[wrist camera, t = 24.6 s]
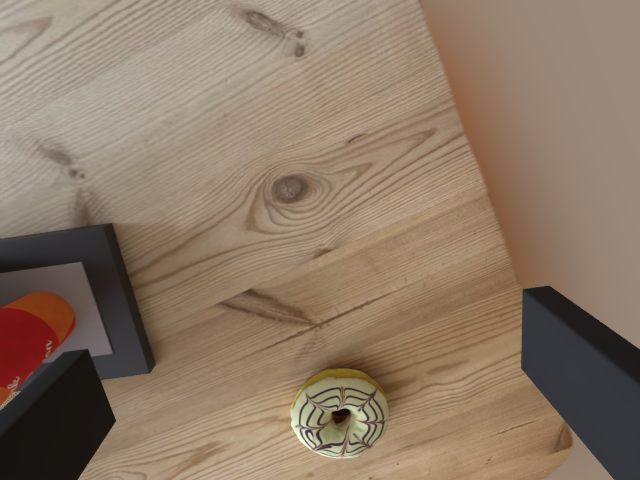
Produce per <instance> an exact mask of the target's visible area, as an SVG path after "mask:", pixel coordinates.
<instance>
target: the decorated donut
mask: <svg viewBox="0 0 640 480" xmlns="http://www.w3.org/2000/svg"><path fill="white" fill-rule="evenodd" d="M343 408H346V409H349V411H348V413H347V414H346V415H344V416H340V417H338V416H335V415H333V414H332V412H334V411H338V410H340V409H343ZM291 417H292V422H291V426H292V427H293V429H294V431H295V432H296V435H297V436H298V438H299V439H300V440H301V442H302V443H303V444H304V445H306V446H307V447H308V448H309V449H311V450H313V451H314V452H316V453H319V454H320V455H323V456H327V457H332V458H341V459H342V458H355V457H358V456H360V455H362V454H363V453H365V452H366V451H367V450H369V449H370V448H371V447H373V446H374V445H375V444H376V443H377V442H378V441H379V440H380V439H381V438H382V436H383V435H384V433H385V431H386V428H387V426H388V422H389V406H388V402H387V398H386V395H385V393H384V391H383V390H382V388H381V387H380V386H379V385H378V384H377V383H376V382H375V381H374V380H373V379H372V378H371V377H370V376H368V375H367V374H365V373H363V372H361V371H359V370H356V369H349V368H334V369H326V370H323V371H321V372H319V373H317V374H315V375H313V376H312V377H310V378H309V379H308V380H307V381H306V383H305V384H304V385H303V386H302V387H301V388H300V390H299V392H298V393H297V395H296V397H295V399H294V401H293V403H292V405H291Z"/></svg>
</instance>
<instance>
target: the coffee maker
mask: <svg viewBox="0 0 640 480" xmlns="http://www.w3.org/2000/svg"><path fill="white" fill-rule="evenodd" d="M38 291H44V292H50V293H53V294H55V295H58V296H59V297H61V298H62V299H64V300H65V301H66V302H67V303H68V304H69V305H70V307H71V308H72V310H73V312H74V315H75V327H74V329H73V331H72V333H71V334H70V335H69V336H68V338H67V339H66V340H65V341H64V342H63V343H62V344H61V345H60V346H59V347H58V348H57V349H56V350H55V351H54V352H53V353H52V354H51V355H50V356H49V357H48V358H47V359H46V360H45V361H44V362H43V363H42V364H41V365H40V366H39V367H38V368H37V369H36V370H35V371H34V372H33V373H32V374H31V375H30V376H29V377H28V378H27V379H26V380H25V381H24V382H23V383H22V384H21V385H20V386H19V387H18V388H17V389H16V390H15V391H22V390H23V389H24V388H25V387H26V386H27V385H29V384H30V383H31V382H32V381H33V380H34V379H35V378H36V377H37V376H38V375H39V374H40V373H42V372H43V371H44V370H45V369H46V368H47V367H48V366H49V365H50V364H51V363H52V362H53V361H54V360H56V359H57V358H58V357H59V356H60V355H61V354H62V353H63V352H67V351H74V350H82V349H89V352H90V355H91V357H92V360H93V362H94V365H95V368H96V370H97V373H98V375H99V378H100V380H104V379H111V378H118V377H126V376H133V375H141V374H148V373H150V372H151V371H152V369H153V368H154V366H155V362H154V358H153V355H152V352H151V349H150V346H149V342H148V339H147V336H146V333H145V330H144V326H143V323H142V320H141V317H140V314H139V310H138V307H137V304H136V301H135V297H134V294H133V291H132V288H131V285H130V281H129V278H128V275H127V272H126V269H125V265H124V262H123V259H122V256H121V253H120V249H119V246H118V243H117V240H116V237H115V233H114V230H113V227H112V224H111V223H109V224H102V225H95V226H88V227H81V228H74V229H67V230H60V231H53V232H46V233H39V234H33V235H26V236H19V237H12V238H5V239H0V307H2V306H4V305H6V304H8V303H10V302H12V301H14V300H16V299H18V298H20V297H23V296H25V295H27V294H30V293H33V292H38ZM15 391H14V392H15Z"/></svg>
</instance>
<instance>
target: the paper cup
mask: <svg viewBox="0 0 640 480" xmlns="http://www.w3.org/2000/svg"><path fill="white" fill-rule="evenodd" d="M74 327H75V315H74V312H73V310H72V308H71V307H70V305H69V304H68V303H67V302H66V301H65V300H64V299H62V298H61V297H59V296H58V295H55V294H53V293H50V292H44V291H38V292H33V293H30V294H27V295H25V296H23V297H20V298H18V299H16V300H14V301H12V302H10V303H8V304H6V305H4V306H2V307H0V405H1V404H2V403H3V402H4V401H5V400H6V399H7V398H8V397H9V396H10V395H11V394H12V393H13V392H14V391H15V390H16V389H17V388H18V387H19V386H20V385H21V384H22V383H23V382H24V381H25V380H26V379H27V378H28V377H29V376H30V375H31V374H32V373H33V372H34V371H35V370H36V369H37V368H38V367H39V366H40V365H41V364H42V363H43V362H44V361H45V360H46V359H47V358H48V357H49V356H50V355H51V354H52V353H53V352H54V351H55V350H56V349H57V348H58V347H59V346H60V345H61V344H62V343H63V342H64V341H65V340H66V339H67V338H68V336H69V335H70V334H71V333H72V331H73V329H74Z"/></svg>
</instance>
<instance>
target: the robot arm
mask: <svg viewBox="0 0 640 480" xmlns="http://www.w3.org/2000/svg"><path fill="white" fill-rule="evenodd" d="M521 369H522V370H523V371H524V372H525V373H526V375H527V376H528V377H529V378H530V379H531V381H532V382H533V383H534V384H535V385H536V387H537V388H538V389H539V390H540V391H541V393H542V394H543V395H544V396H545V397H546V399H547V400H548V401H549V402H550V403H551V404H552V406H553V407H554V408H555V409H556V410H557V412H558V413H559V414H560V415H561V416H562V418H563V419H564V420H565V421H566V422H567V424H568V425H569V426H570V427H571V428H572V430H573V431H574V432H575V433H576V434H577V436H578V437H579V438H580V439H581V440H582V442H583V443H584V444H585V445H586V446H587V448H588V449H589V450H590V451H591V452H592V454H593V455H594V456H595V457H596V458H597V460H598V461H599V462H600V463H601V464H602V466H603V467H604V468H605V469H606V470H607V471H608V472H609V474H610V475H611V476H612V477H613V479H614V480H640V349H638V348H637V347H636V346H634V345H633V344H631V343H630V342H628V341H627V340H626V339H624V338H623V337H621V336H620V335H618V334H617V333H616V332H614V331H613V330H611V329H610V328H609V327H607V326H606V325H604V324H603V323H601V322H600V321H599V320H597V319H596V318H594V317H593V316H591V315H590V314H589V313H587V312H586V311H584V310H583V309H581V308H580V307H579V306H577V305H576V304H574V303H573V302H572V301H570V300H569V299H567V298H566V297H565V296H563V295H562V294H560V293H559V292H557V291H556V290H554V289H553V288H552V287H550V286H544V287H536V288H529V289H523V309H522V353H521ZM115 422H116V419H115V417H114V414H113V412H112V409H111V407H110V404H109V401H108V399H107V396H106V394H105V391H104V388H103V386H102V383H101V381H100V378H99V375H98V373H97V370H96V368H95V365H94V362H93V360H92V357H91V355H90V352H89V349H82V350H74V351H67V352H63V353H62V354H61V355H60V356H59V357H58V358H57V359H56V360H54V361H53V362H52V363H51V364H50V365H49V366H48V367H47V368H46V369H45V370H44V371H43V372H42V373H40V374H39V375H38V376H37V377H36V378H35V379H34V380H33V381H32V382H31V383H30V384H29V385H27V386H26V387H25V388H24V389H23V390H22V391H21V392H20V393H19V394H18V395H17V396H16V397H15V398H13V399H12V400H11V401H10V402H9V403H8V404H7V405H6V406H5V407H4V408H3V409H2V410H0V480H78V478H79V477H80V475H81V474H82V472H83V471H84V469H85V467H86V466H87V464H88V463H89V461H90V460H91V458H92V457H93V455H94V454H95V452H96V451H97V449H98V448H99V446H100V445H101V443H102V442H103V440H104V439H105V437H106V436H107V434H108V432H109V431H110V429H111V428H112V426H113V425H114V423H115Z"/></svg>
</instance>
